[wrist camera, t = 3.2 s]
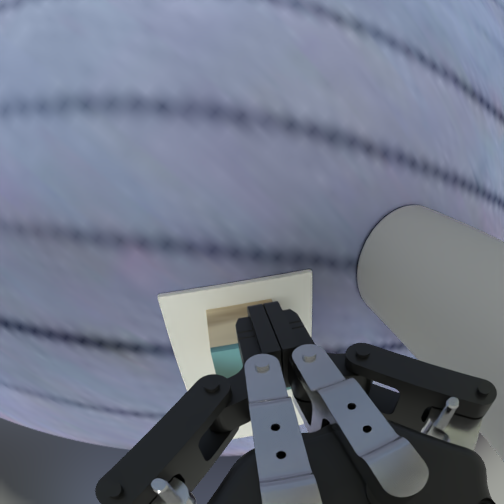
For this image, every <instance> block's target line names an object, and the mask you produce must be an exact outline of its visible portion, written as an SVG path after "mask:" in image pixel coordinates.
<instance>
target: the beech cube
mask: <svg viewBox="0 0 504 504" xmlns="http://www.w3.org/2000/svg"><path fill="white" fill-rule="evenodd" d="M269 302H273V301H272V299H267V300H261V301H256V302H250V303H244V304H238V305H233V306H227V307H221V308H214V309H208V310H206V316H207V325H208V334H209V342H210V351H211V356H212V360H213V364H214V369H215V373H216V374H218V375H222V376H224V377H226V378H229V377H231V376H233V375H235V374H237V373H238V372H239V371H240V370H241V369H242V367H243V364H242V360H241V356H240V351H239V346H238V340H237V333H236V327H235V325H236V322H237V320H238V318H243V317H248V314H247V306H252V305H258V304H262V305H263V303H269ZM286 389H287V390H289V389H291V387H287V388H286Z"/></svg>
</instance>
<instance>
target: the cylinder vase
mask: <svg viewBox="0 0 504 504" xmlns="http://www.w3.org/2000/svg"><path fill="white" fill-rule="evenodd" d="M357 283H358V289H359V292H360V295H361V297H362V299H363V301H364V302H365V303H366V305H367V306H368V307H369V308H370V309H371V310H372V311H373V312H374V313H375V314H376V315H377V316H378V317H379V318H380V319H381V320H382V321H383V322H384V324H385V325H386V326H387V327H388V328H389V329H390V330H391V331H392V332H393V333H394V334H395V335H396V336H397V337H398V338H399V340H400V341H401V342H402V343H403V344H404V345H405V346H406V347H407V348H408V349H409V350H410V351H411V353H412V354H413V355H414V356H415V357H416V358H417V359H418V360H420V361H423V362H426V363H429V364H433V365H436V366H439V367H443V368H446V369H450V370H453V371H456V372H460V373H463V374H467V375H471V376H474V377H478V378H482V379H485V380H488V381H490V382H491V383H492V384H493V385H494V386H495V388H496V390H497V397H496V399H495V401H494V402H493V404H492V405H491V407H490V408H489V410H488V411H487V413H486V414H485V416H484V417H483V419H482V423H481V427H480V432H481V434H482V435H483V436H484V437H485V439H486V440H487V441H488V442H489V443H490V445H491V446H492V447H493V449H494V450H495V451H496V453H497V454H498V455H499V456H500V458H501V459H502V460H503V462H504V242H503V241H501V240H499V239H497V238H495V237H493V236H491V235H489V234H486V233H484V232H482V231H480V230H478V229H476V228H474V227H471V226H469V225H467V224H465V223H462V222H460V221H458V220H456V219H453V218H451V217H448V216H446V215H444V214H441V213H439V212H436V211H434V210H432V209H429V208H427V207H424V206H419V205H409V206H404V207H401V208H399V209H396V210H395V211H393V212H391V213H390V214H388V215H387V216H386V217H384V218H383V219H382V220H381V221H380V222H379V223H378V224H377V225H376V227H375V228H374V229H373V231H372V232H371V233H370V235H369V237H368V238H367V240H366V242H365V244H364V246H363V249H362V251H361V254H360V258H359V262H358V268H357Z"/></svg>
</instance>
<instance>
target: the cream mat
mask: <svg viewBox="0 0 504 504" xmlns="http://www.w3.org/2000/svg"><path fill="white" fill-rule="evenodd" d="M267 299H272V301H273V302H274V301H278V302H279V304H280V306H281V308H282V310H287V309H291V310H293V311H294V312H296V313H297V314H298V315H299V317H300V319H301V322H303V324H304V327H305V328H306V330H307V331H308V333H309V335H310V337H311V332H312V271H311V270H310V269H308V270H302V271H297V272H291V273H285V274H280V275H274V276H268V277H262V278H256V279H250V280H244V281H238V282H232V283H226V284H220V285H214V286H207V287H201V288H195V289H188V290H182V291H175V292H168V293H162V294H158V301H159V304H160V308H161V312H162V315H163V318H164V322H165V325H166V329H167V332H168V335H169V339H170V342H171V345H172V348H173V351H174V354H175V357H176V360H177V363H178V366H179V369H180V372H181V375H182V378H183V381H184V384H185V386H186V389H187V391H188V390H189V389H190V388H191V387H192V386H193V385H194V384H195V383H196V382H197V381H198V380H199V379H200V378H202V377H204V376H206V375H210V374H216V373H215V369H214V364H213V360H212V356H211V351H210V342H209V334H208V325H207V316H206V310H208V309H214V308H221V307H227V306H233V305H238V304H244V303H250V302H256V301H261V300H267ZM287 393H288V396H290V397H291V399H292V390H291V389H289V390H287ZM292 402H293V400H292ZM293 405H294V409H295V413H296V416H297V420H298V424H299V425H301V424H304V422H303V420H302V418H301V416H300V414H299V412H298V410H297V408H296V406H295V404H294V402H293ZM248 436H253V432H252V425H251V421H250V422H248V423H246V424H244V425H242V426H240V427H239V430H238V432H237V433H236V434H235V436H234V437H233V439H237V438H243V437H248Z"/></svg>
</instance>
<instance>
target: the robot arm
mask: <svg viewBox="0 0 504 504" xmlns="http://www.w3.org/2000/svg"><path fill="white" fill-rule="evenodd" d="M247 314H248V317H243V318H238V320H237V322H236V325H235V327H236V333H237V340H238V346H239V351H240V356H241V360H242V364H243V367H242V369H241V370H240V371H239V372H238V373H237V374H235V375H233V376H231V377H229V378H226V377H224V376H222V375H218V374H210V375H206V376H204V377H202V378H200V379H199V380H198V381H197V382H196V383H195V384H194V385H193V386H192V387H191V388H190V389H189V390H188V391H187V392H186V393H185V395H184V396H183V397H182V398H181V399H180V400H179V401H178V402H177V403H176V404H175V405H174V406H173V407H172V408H171V409H170V410H169V411H168V412H167V413H166V415H165V416H164V417H163V418H162V419H161V420H160V421H159V422H158V423H157V424H156V425H155V426H154V427H153V428H152V429H151V430H150V431H149V432H148V433H147V434H146V435H145V436H144V437H143V438H142V439H141V440H140V441H139V442H138V443H137V444H136V445H135V446H134V447H133V448H132V449H131V450H130V451H129V452H128V453H127V454H126V455H125V456H124V457H123V458H122V459H121V460H120V461H119V462H118V463H117V464H116V465H115V466H114V467H113V468H112V469H111V470H110V471H109V472H107V473H106V474H105V475H104V476H103V477H102V478H101V479H100V480H99V482H98V483H97V486H96V491H95V492H96V496H97V499H98V500H99V502H100V503H101V504H196V499H195V497H194V496H193V494H192V493H191V492H192V491H193V489H194V488H195V487H196V486H197V484H198V483H199V482H200V481H201V479H202V478H203V477H204V475H205V474H206V473H207V472H208V470H209V469H210V468H211V467H212V465H213V464H214V463H215V461H216V460H217V459H218V458H219V456H220V455H221V454H222V452H223V451H224V450H225V448H226V447H227V445H228V444H229V443H230V441H231V440H232V439H233V437H234V436H235V434H236V433H237V432H238V430H239V427H240V426H242V425H244V424H246V423H248V422H250V421H251V425H252V432H253V440H254V447H255V448H254V449H252V450H251V451H249V452H247V453H246V454H244V455H243V456H242V457H241V458H240V459H238V460H237V462H236V463H235V464H234V465H233V467H232V468H231V469H230V471H229V473H228V474H227V476H226V477H225V479H224V480H223V482H222V483H221V484H220V486H219V487H218V489H217V490H216V492H215V493H214V495H213V496H212V497H211V499H210V500H209V502H208V503H207V504H495V503H494V501H493V500H492V499H491V496H490V493H489V490H488V486H487V475H486V468H485V464H484V462H483V460H482V459H481V457H480V456H479V455H478V454H477V453H476V452H475V451H474V450H475V446H476V442H477V439H478V435H479V431H480V427H481V423H482V419H483V417H484V416H485V414H486V413H487V411H488V410H489V408H490V407H491V405H492V404H493V402H494V401H495V399H496V397H497V390H496V388H495V386H494V385H493V384H492V383H491V382H490V381H488V380H485V379H482V378H478V377H474V376H471V375H467V374H463V373H460V372H456V371H453V370H450V369H446V368H443V367H439V366H436V365H433V364H429V363H426V362H423V361H420V360H416V359H413V358H410V357H407V356H404V355H400V354H397V353H394V352H391V351H388V350H385V349H382V348H379V347H376V346H373V345H370V344H366V343H357V344H354V345H352V346H350V347H349V348H348V349H347V351H346V353H345V354H331V353H326V352H325V350H324V349H323V348H322V347H320V346H317V345H315V344H314V342H313V340H312V338H311V337H310V335H309V333H308V331H307V330H306V328H305V327H304V324H303V322H301V319H300V317H299V315H298V314H297V313H296V312H294V311H293V310H291V309H287V310H282V308H281V306H280V304H279V302H278V301H274V302H269V303H263V305H262V304H258V305H252V306H247ZM373 381H376V382H379V383H382V384H384V385H387V386H390V387H393V388H395V389H397V390H398V391H399V392H400V393H397V392H394V391H391V390H388V389H386V388H383V387H380V386H377V385H375V384H372V382H373ZM287 387H291V390H292V399H291V397H290V396H288V393H287V389H286V388H287ZM292 400H293V402H294V404H295V406H296V408H297V410H298V412H299V414H300V416H301V418H302V420H303V422H304V424H305V426H306V428H307V430H308V433H301V431H300V427H299V424H298V420H297V416H296V413H295V409H294V405H293V402H292Z"/></svg>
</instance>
